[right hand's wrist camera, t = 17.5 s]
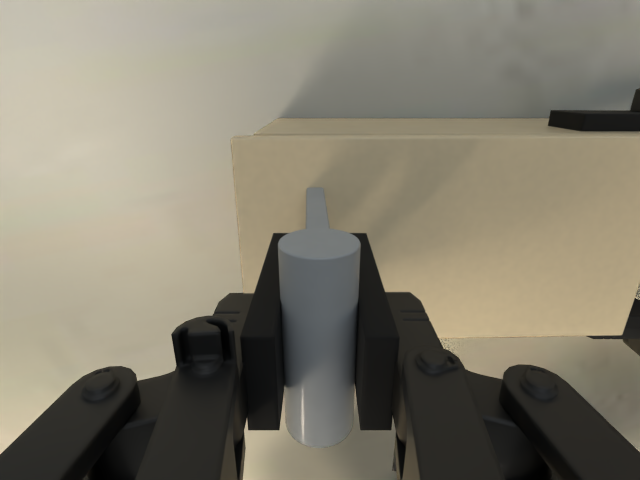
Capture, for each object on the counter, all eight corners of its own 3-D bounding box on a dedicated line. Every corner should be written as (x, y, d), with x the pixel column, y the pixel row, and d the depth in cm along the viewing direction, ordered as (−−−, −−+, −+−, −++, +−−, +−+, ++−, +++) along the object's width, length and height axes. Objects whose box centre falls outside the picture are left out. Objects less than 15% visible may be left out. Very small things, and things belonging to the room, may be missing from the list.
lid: (249, 332, 19) (210, 495, 11) (233, 135, 15) (162, 180, 8) (610, 326, 19) (804, 479, 12) (672, 133, 16) (1004, 175, 8)
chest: (282, 254, 28) (265, 323, 19) (277, 118, 24) (253, 133, 16) (525, 255, 27) (609, 325, 19) (554, 118, 24) (672, 133, 16)
